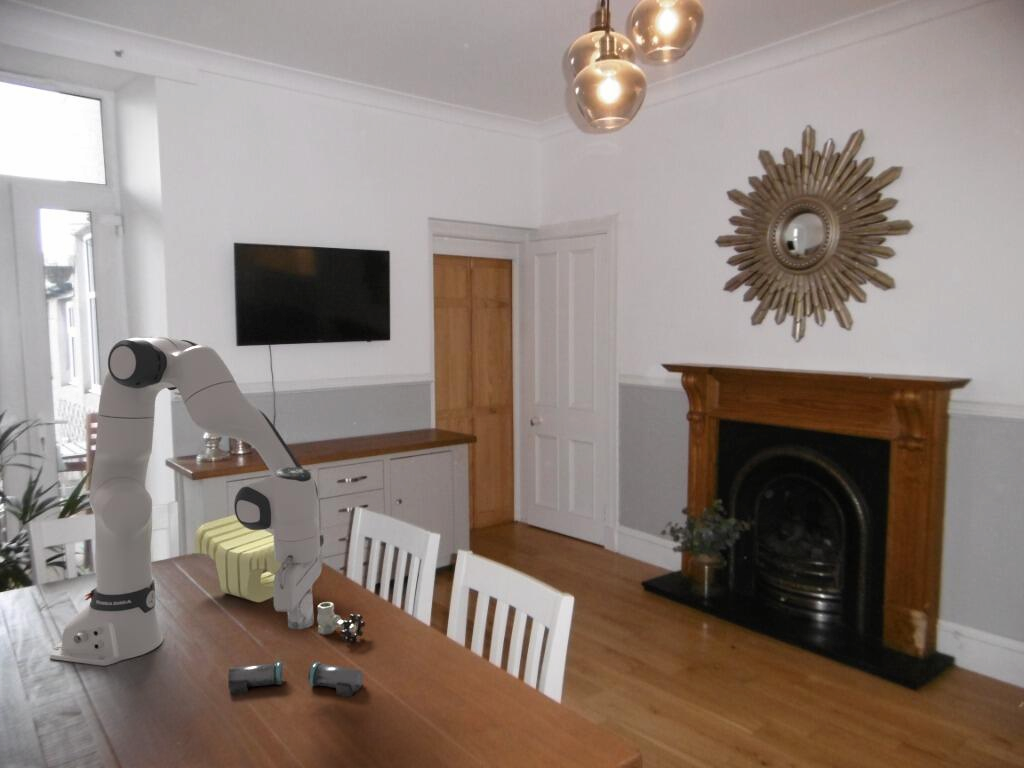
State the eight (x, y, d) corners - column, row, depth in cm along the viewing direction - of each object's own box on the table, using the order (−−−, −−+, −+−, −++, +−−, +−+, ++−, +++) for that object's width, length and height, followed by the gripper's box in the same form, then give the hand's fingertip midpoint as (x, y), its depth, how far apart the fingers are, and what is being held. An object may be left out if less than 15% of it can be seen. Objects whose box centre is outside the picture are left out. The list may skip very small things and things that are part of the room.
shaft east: (364, 685, 147) (364, 664, 146) (352, 697, 142) (351, 676, 142) (321, 677, 150) (320, 657, 149) (307, 689, 145) (307, 668, 144)
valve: (309, 634, 170) (343, 648, 163) (308, 607, 169) (343, 620, 162) (331, 624, 175) (365, 637, 168) (330, 598, 175) (365, 610, 168)
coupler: (309, 629, 145) (308, 600, 144) (284, 629, 145) (283, 600, 144) (316, 618, 150) (315, 590, 149) (292, 618, 150) (291, 590, 149)
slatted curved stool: (197, 590, 197) (194, 526, 195) (245, 572, 210) (242, 512, 209) (273, 613, 182) (271, 544, 180) (320, 592, 195) (318, 528, 193)
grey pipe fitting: (228, 695, 143) (227, 674, 142) (232, 682, 148) (231, 662, 147) (281, 689, 145) (280, 668, 145) (283, 677, 150) (282, 656, 149)
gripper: (296, 566, 135) (300, 637, 137) (326, 532, 156) (329, 593, 157) (262, 567, 135) (267, 637, 137) (297, 532, 156) (300, 593, 157)
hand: (300, 613), depth 147 cm, fingers closed on coupler, 5 cm apart
